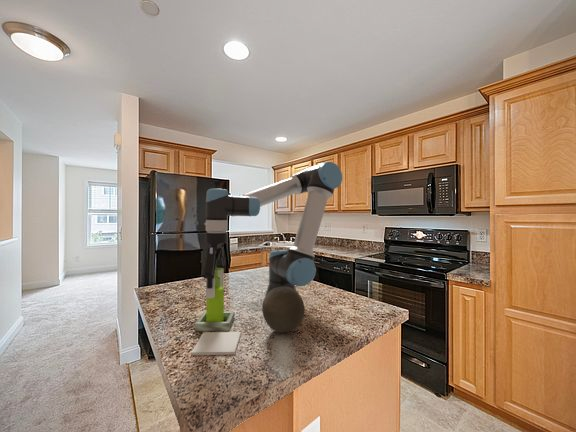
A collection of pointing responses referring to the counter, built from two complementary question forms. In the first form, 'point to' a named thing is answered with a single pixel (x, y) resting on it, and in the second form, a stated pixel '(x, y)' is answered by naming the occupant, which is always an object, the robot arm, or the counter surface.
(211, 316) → the soap dispenser
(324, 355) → the counter surface
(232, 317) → the frame
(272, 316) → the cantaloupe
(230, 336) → the mat
